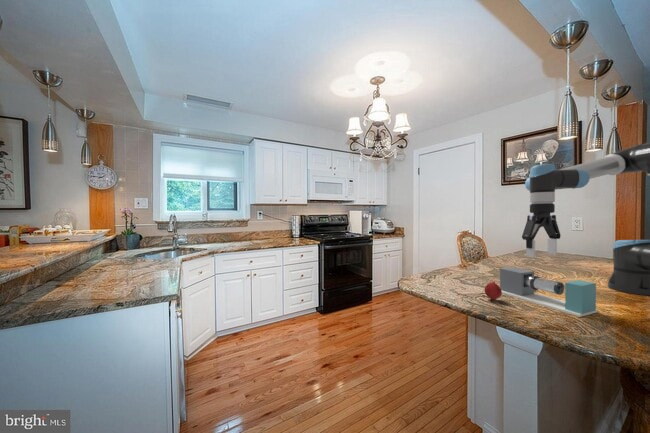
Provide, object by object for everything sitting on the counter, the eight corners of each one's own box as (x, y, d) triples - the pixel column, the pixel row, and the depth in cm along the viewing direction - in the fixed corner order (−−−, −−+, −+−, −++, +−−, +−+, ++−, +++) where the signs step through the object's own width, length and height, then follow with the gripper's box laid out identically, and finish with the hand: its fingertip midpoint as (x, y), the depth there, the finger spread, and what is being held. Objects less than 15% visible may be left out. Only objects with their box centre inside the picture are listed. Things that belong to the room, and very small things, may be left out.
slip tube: (504, 283, 109) (504, 271, 109) (512, 281, 111) (512, 269, 111) (555, 296, 91) (555, 282, 91) (564, 294, 93) (564, 280, 93)
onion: (485, 301, 99) (485, 281, 98) (483, 296, 104) (483, 278, 104) (502, 303, 96) (502, 283, 96) (500, 298, 101) (500, 279, 101)
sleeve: (511, 287, 112) (511, 267, 112) (534, 293, 104) (534, 271, 104) (500, 289, 110) (499, 268, 110) (521, 296, 101) (521, 273, 101)
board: (514, 289, 113) (514, 287, 113) (597, 312, 87) (597, 309, 87) (497, 292, 109) (497, 290, 109) (579, 316, 83) (579, 314, 83)
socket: (579, 305, 90) (579, 279, 90) (595, 310, 86) (595, 283, 86) (565, 309, 88) (565, 282, 87) (581, 314, 83) (581, 286, 83)
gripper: (550, 203, 105) (549, 252, 105) (511, 203, 97) (510, 255, 97) (572, 203, 98) (571, 254, 98) (532, 202, 90) (532, 259, 90)
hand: (541, 255), depth 98 cm, fingers open, 13 cm apart
